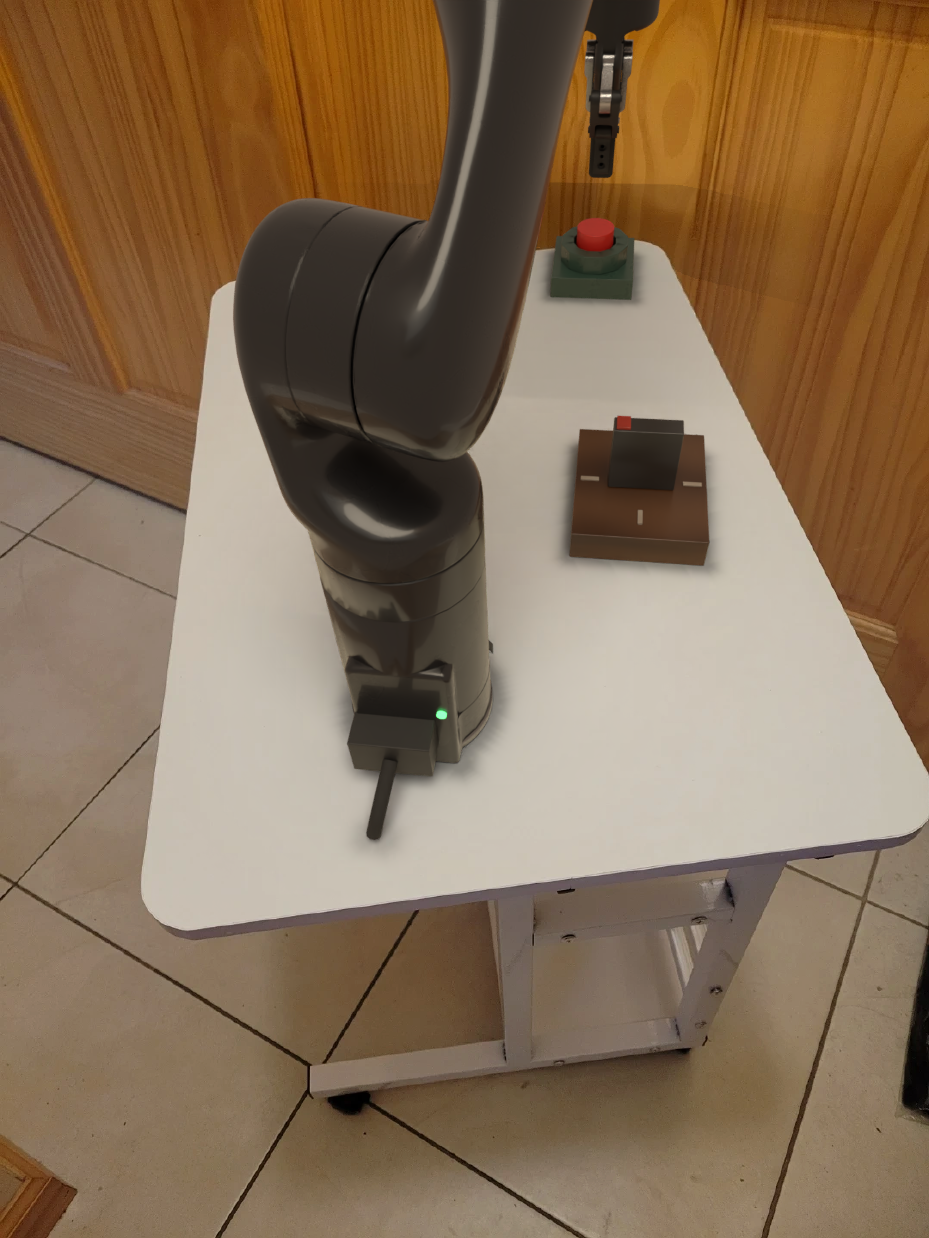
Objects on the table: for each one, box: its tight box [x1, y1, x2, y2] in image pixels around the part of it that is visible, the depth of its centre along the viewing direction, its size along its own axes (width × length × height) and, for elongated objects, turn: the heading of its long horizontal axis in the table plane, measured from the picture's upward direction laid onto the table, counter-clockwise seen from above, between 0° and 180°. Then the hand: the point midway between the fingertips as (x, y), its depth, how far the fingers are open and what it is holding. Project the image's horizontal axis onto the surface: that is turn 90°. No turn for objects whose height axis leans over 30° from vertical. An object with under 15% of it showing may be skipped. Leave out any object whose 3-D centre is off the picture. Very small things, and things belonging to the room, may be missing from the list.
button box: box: [550, 225, 635, 301], centre depth 90 cm, size 8×8×4 cm
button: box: [577, 217, 615, 251], centre depth 88 cm, size 4×4×2 cm
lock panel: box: [568, 428, 710, 566], centre depth 70 cm, size 12×10×3 cm
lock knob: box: [608, 415, 685, 490], centre depth 67 cm, size 5×2×6 cm, turn 83°
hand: (600, 173), depth 84 cm, fingers closed
